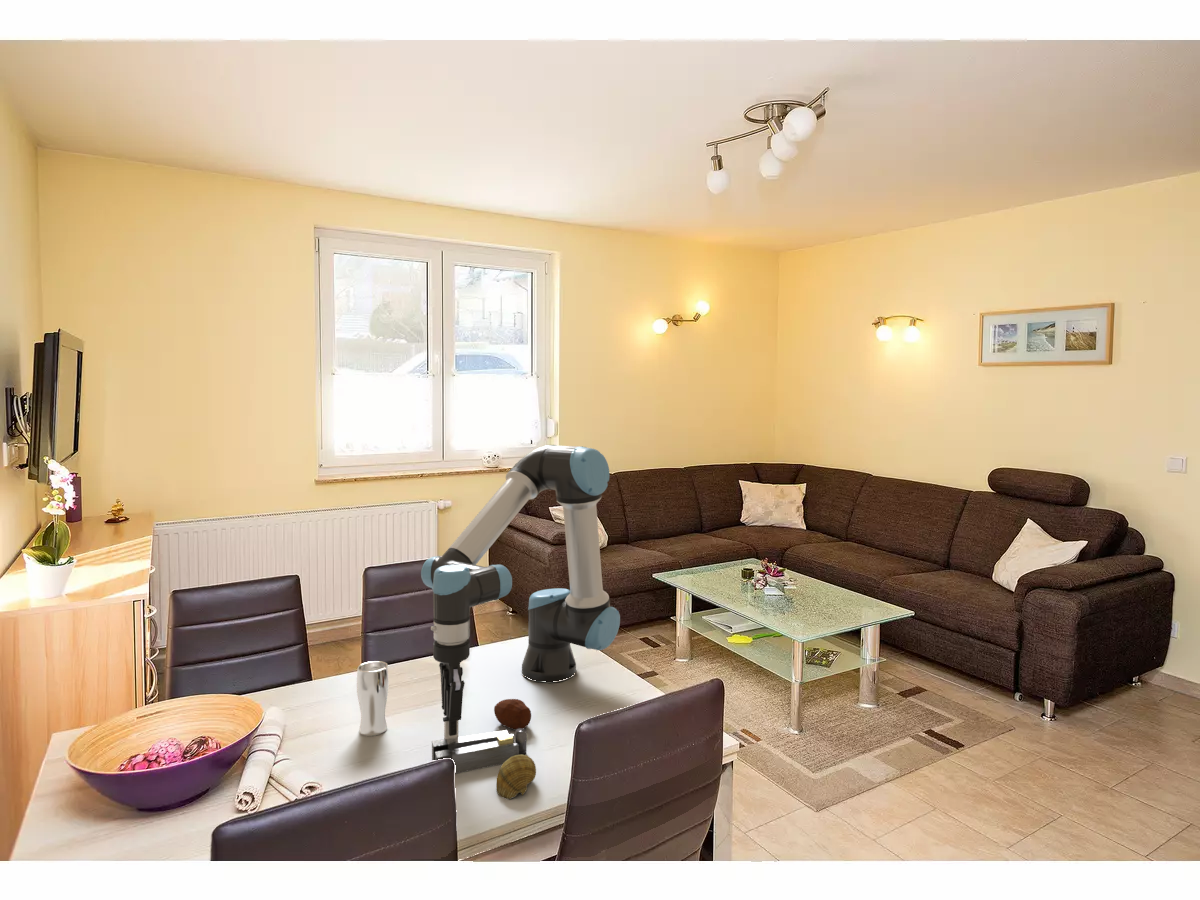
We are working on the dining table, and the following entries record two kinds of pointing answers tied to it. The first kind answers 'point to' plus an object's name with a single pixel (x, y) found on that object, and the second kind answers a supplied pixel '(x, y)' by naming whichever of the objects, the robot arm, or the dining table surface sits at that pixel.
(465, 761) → the tongs base
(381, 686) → the beer glass
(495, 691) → the dining table surface
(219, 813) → the dining table surface
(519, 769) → the seashell
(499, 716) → the potato
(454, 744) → the tong jaw
